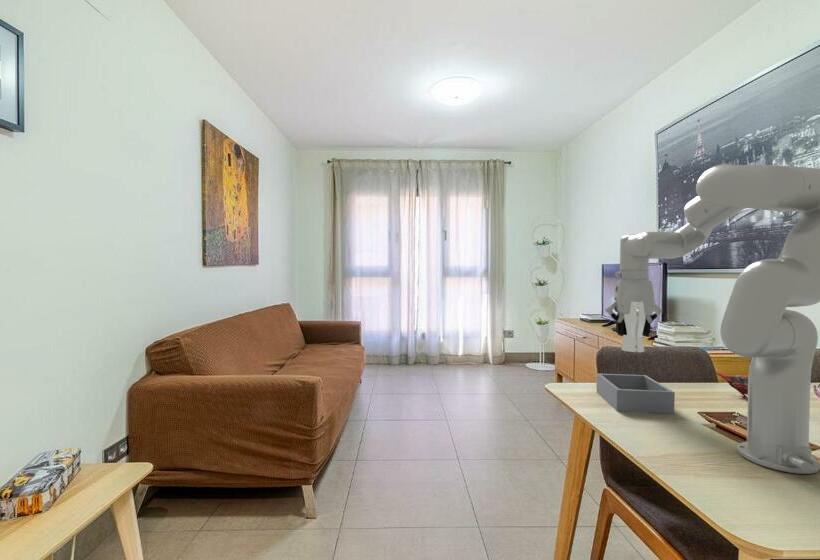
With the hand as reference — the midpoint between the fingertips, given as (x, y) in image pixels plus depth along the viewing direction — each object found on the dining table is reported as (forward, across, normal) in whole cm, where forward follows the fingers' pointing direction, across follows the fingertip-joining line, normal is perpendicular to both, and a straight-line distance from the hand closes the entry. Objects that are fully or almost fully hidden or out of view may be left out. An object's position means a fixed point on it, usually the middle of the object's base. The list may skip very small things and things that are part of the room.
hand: (632, 335), depth 120 cm
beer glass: (+5, 0, 0) cm, 5 cm away
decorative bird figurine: (+20, +35, +9) cm, 41 cm away
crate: (+20, 0, 0) cm, 20 cm away
